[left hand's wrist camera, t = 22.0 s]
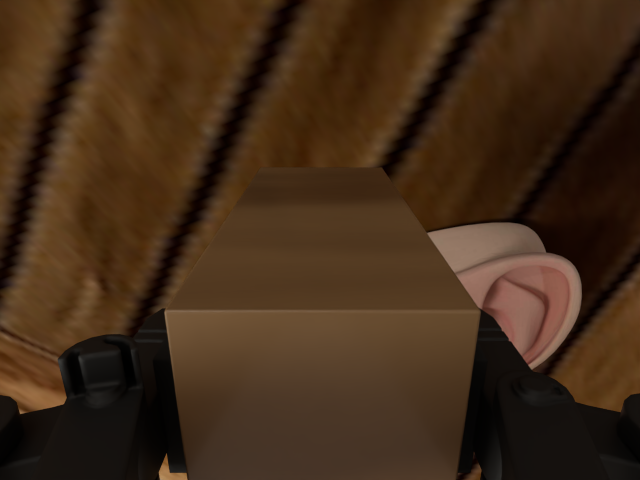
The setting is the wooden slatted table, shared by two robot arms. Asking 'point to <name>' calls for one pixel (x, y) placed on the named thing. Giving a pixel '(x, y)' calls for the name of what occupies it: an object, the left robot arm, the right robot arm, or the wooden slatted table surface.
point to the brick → (322, 337)
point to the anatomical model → (515, 283)
